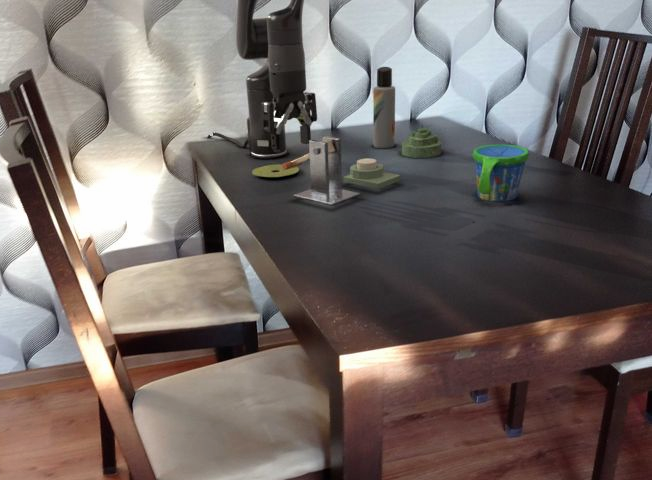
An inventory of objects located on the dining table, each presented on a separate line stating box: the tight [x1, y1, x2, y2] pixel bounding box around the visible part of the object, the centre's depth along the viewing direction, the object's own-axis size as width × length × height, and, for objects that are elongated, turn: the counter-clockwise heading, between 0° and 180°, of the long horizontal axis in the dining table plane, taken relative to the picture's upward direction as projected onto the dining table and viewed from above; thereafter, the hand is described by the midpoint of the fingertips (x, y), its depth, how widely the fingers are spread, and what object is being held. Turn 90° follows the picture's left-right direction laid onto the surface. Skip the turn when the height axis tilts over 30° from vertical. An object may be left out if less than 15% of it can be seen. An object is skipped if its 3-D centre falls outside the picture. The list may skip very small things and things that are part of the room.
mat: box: [251, 163, 300, 178], centre depth 167 cm, size 11×11×2 cm
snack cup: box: [472, 144, 530, 202], centre depth 142 cm, size 16×10×10 cm
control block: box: [343, 163, 402, 190], centre depth 157 cm, size 10×8×4 cm
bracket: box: [293, 135, 361, 207], centre depth 147 cm, size 11×9×13 cm
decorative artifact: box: [401, 124, 442, 159], centre depth 179 cm, size 10×7×10 cm
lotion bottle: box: [372, 66, 396, 149], centre depth 185 cm, size 6×6×20 cm
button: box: [356, 158, 378, 170], centre depth 157 cm, size 4×4×2 cm
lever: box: [282, 140, 335, 170], centre depth 149 cm, size 13×5×2 cm
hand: (291, 147), depth 151 cm, fingers open, 8 cm apart
